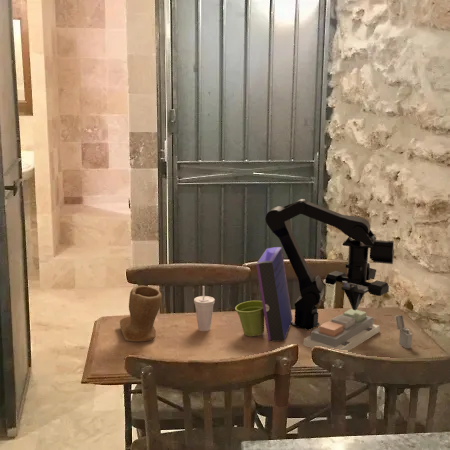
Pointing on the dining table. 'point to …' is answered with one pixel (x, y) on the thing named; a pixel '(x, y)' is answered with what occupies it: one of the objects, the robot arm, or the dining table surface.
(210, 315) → the smoothie
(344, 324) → the grey key
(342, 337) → the grey piece
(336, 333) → the clay key
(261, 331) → the plant pot
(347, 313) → the sage key
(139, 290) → the brown clay boot
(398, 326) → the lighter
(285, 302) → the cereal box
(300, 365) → the dining table surface
